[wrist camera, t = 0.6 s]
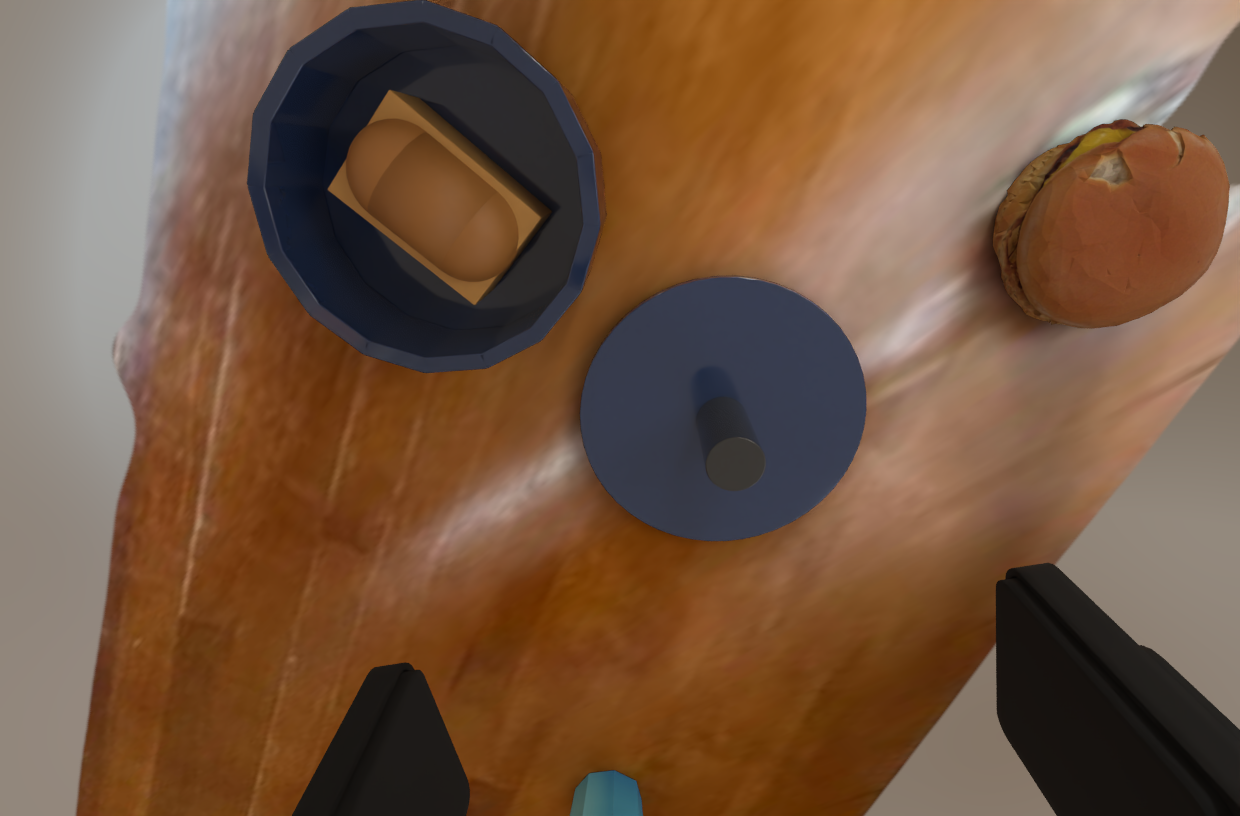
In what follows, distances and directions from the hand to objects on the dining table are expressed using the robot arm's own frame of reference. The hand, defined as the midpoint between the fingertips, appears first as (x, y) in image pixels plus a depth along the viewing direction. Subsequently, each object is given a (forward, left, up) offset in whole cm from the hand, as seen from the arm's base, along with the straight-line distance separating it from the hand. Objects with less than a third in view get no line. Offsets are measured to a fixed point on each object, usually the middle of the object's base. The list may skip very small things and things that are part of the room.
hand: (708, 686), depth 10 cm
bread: (+2, -12, -27) cm, 29 cm away
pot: (+2, -12, -27) cm, 30 cm away
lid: (+2, +7, -27) cm, 28 cm away
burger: (-18, +14, -27) cm, 35 cm away
